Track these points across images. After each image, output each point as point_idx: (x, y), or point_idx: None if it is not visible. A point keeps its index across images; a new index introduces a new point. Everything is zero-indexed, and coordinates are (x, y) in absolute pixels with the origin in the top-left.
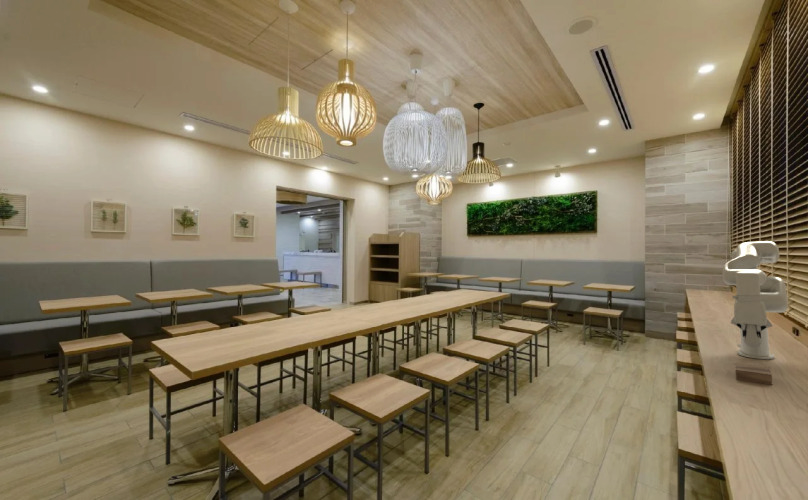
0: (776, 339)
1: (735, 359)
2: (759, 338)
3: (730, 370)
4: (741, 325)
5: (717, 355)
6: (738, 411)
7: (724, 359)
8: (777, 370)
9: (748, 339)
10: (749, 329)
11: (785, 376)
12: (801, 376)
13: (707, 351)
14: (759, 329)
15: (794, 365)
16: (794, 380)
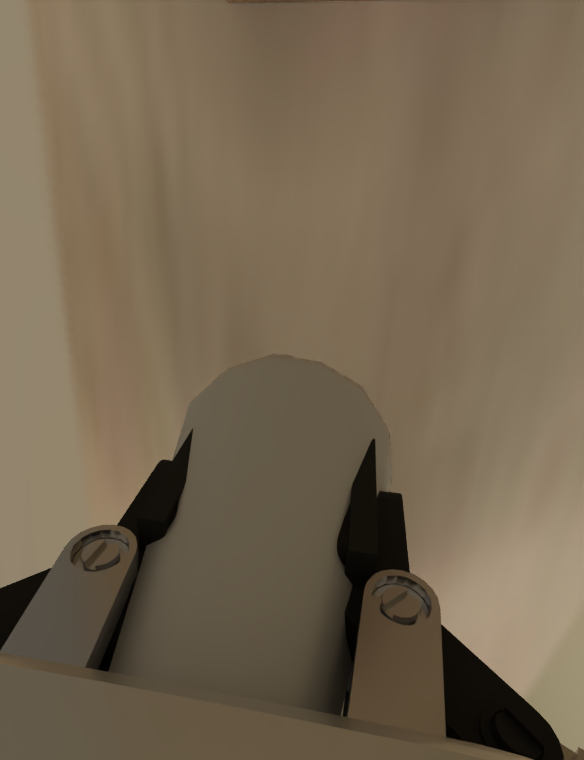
0: None
1: (420, 485)
2: (181, 438)
3: (537, 66)
4: (443, 704)
5: (525, 541)
6: None
7: (499, 453)
8: (186, 310)
9: (332, 403)
10: (275, 566)
11: (134, 142)
12: (53, 218)
13: (569, 615)
14: (87, 578)
15: (114, 486)
16: (72, 34)
